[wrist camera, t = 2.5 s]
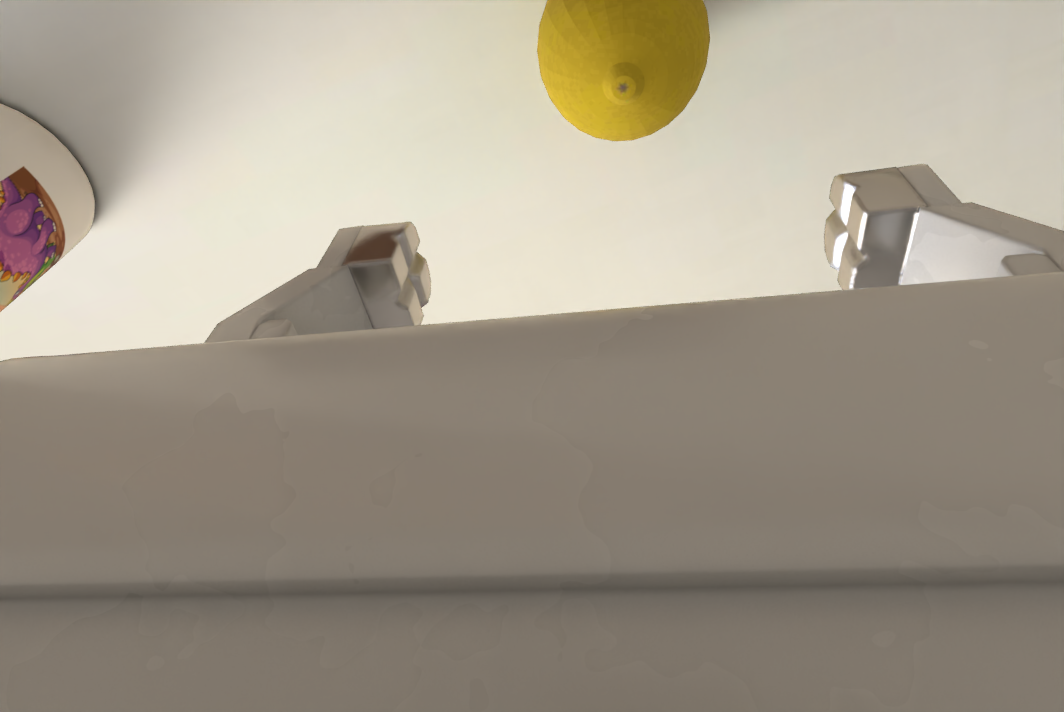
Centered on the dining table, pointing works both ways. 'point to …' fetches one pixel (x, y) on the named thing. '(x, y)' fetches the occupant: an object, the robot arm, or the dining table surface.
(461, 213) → the dining table surface
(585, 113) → the lemon
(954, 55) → the dining table surface
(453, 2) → the dining table surface
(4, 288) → the milk bottle
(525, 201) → the dining table surface
